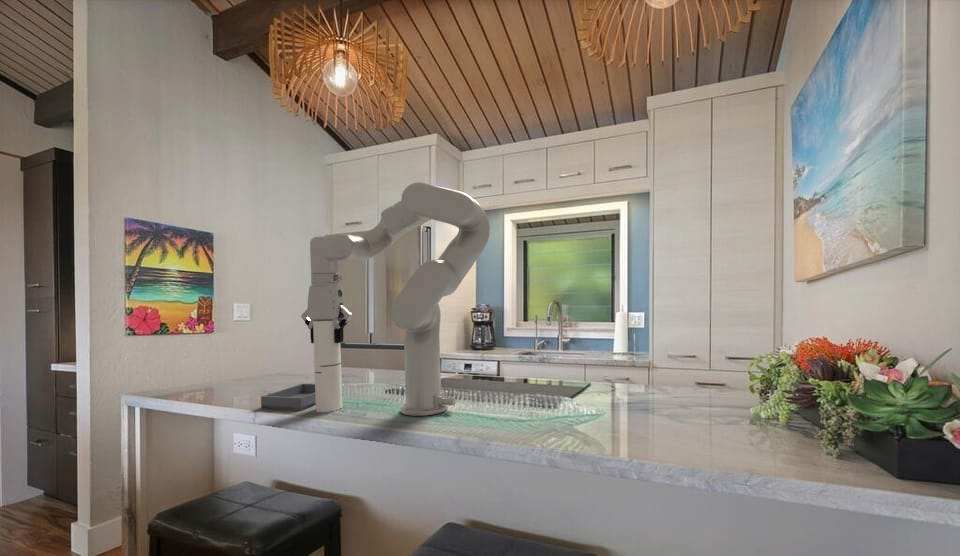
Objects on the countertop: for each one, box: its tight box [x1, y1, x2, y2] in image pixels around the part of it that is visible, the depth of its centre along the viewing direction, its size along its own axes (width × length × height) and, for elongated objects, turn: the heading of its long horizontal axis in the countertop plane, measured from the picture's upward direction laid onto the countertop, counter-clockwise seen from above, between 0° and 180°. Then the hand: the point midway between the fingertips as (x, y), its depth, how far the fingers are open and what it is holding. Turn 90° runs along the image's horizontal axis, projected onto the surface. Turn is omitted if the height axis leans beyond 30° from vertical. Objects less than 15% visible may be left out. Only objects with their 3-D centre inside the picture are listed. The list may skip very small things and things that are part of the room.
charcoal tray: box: [260, 383, 316, 412], centre depth 139 cm, size 14×18×4 cm
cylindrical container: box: [313, 320, 343, 413], centre depth 130 cm, size 7×7×25 cm
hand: (327, 342), depth 130 cm, fingers closed on cylindrical container, 7 cm apart
